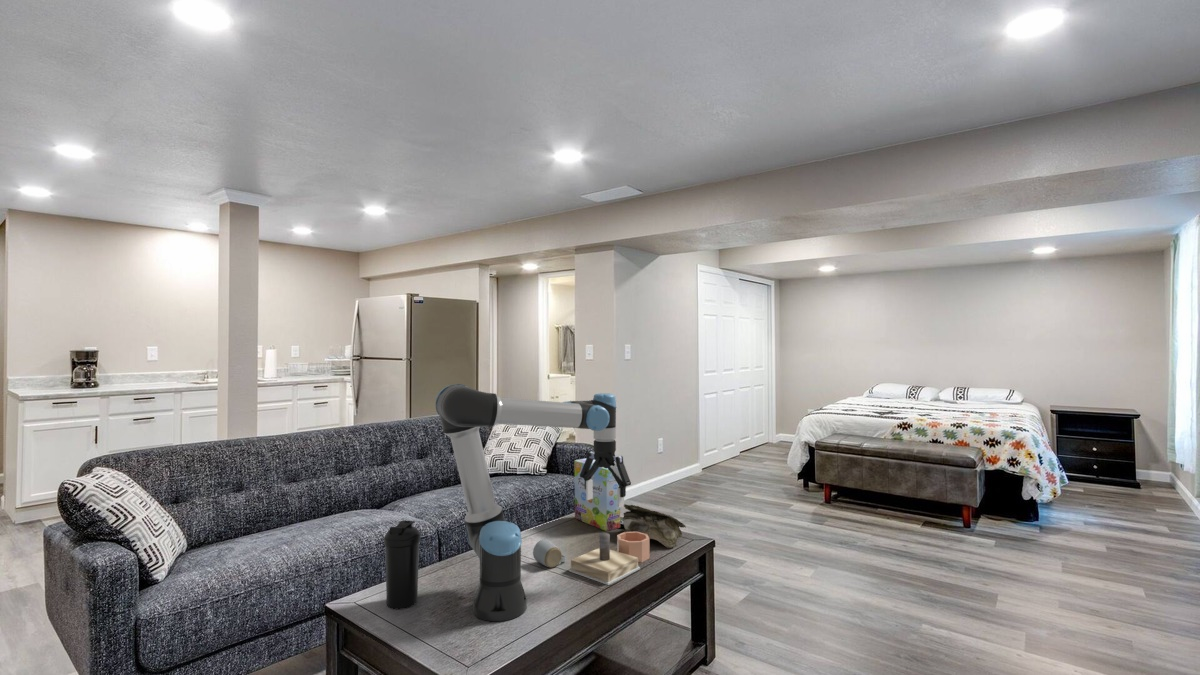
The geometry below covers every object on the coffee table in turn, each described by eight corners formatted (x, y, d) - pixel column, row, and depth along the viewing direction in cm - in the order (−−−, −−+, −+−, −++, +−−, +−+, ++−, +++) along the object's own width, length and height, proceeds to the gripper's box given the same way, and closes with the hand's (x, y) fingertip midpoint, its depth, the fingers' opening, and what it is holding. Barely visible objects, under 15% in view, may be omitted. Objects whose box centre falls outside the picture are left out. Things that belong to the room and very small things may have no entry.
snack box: (572, 519, 247) (573, 459, 247) (588, 515, 252) (588, 457, 252) (605, 532, 230) (606, 468, 230) (621, 527, 236) (621, 465, 236)
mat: (608, 585, 180) (608, 583, 180) (568, 571, 191) (568, 569, 191) (640, 568, 193) (640, 567, 193) (601, 556, 204) (601, 555, 204)
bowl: (636, 564, 196) (636, 544, 196) (611, 557, 203) (611, 537, 203) (654, 555, 205) (654, 536, 205) (630, 548, 212) (630, 529, 212)
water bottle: (426, 596, 171) (427, 519, 172) (408, 612, 161) (408, 530, 162) (396, 593, 173) (396, 517, 174) (376, 609, 163) (376, 528, 164)
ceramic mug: (545, 571, 191) (545, 548, 191) (532, 563, 197) (532, 541, 197) (571, 564, 197) (571, 541, 198) (557, 557, 204) (558, 535, 204)
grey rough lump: (623, 542, 232) (604, 520, 225) (638, 515, 239) (620, 494, 232) (677, 559, 212) (658, 536, 205) (692, 529, 218) (674, 506, 211)
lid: (608, 582, 180) (608, 546, 181) (570, 569, 191) (571, 535, 191) (638, 567, 193) (638, 533, 193) (601, 555, 203) (601, 524, 203)
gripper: (641, 442, 187) (641, 507, 187) (584, 434, 203) (584, 494, 203) (627, 445, 181) (627, 512, 181) (569, 437, 197) (569, 498, 197)
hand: (604, 502), depth 192 cm, fingers open, 13 cm apart
